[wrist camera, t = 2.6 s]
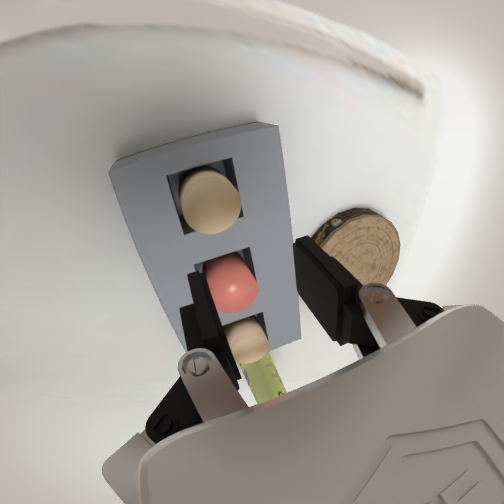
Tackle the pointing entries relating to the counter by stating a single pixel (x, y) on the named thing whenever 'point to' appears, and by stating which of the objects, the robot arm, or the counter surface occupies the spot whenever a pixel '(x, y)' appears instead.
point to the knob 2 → (246, 340)
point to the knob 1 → (208, 200)
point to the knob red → (230, 282)
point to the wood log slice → (361, 244)
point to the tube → (263, 379)
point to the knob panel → (232, 239)
